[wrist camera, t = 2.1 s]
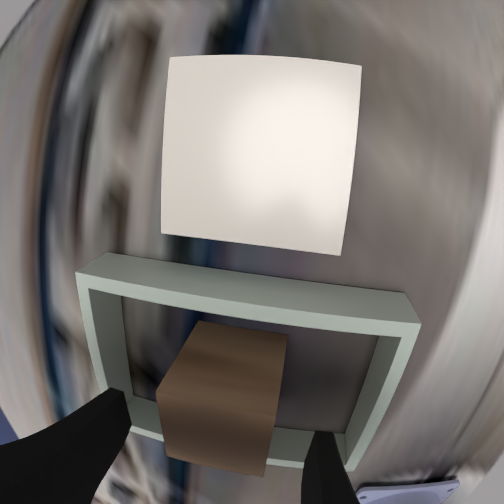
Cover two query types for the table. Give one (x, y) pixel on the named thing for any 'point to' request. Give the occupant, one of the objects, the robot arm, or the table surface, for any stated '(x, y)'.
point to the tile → (259, 150)
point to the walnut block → (223, 397)
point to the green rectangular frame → (255, 308)
